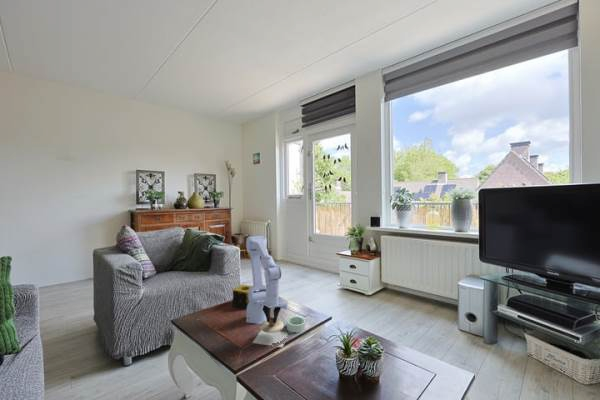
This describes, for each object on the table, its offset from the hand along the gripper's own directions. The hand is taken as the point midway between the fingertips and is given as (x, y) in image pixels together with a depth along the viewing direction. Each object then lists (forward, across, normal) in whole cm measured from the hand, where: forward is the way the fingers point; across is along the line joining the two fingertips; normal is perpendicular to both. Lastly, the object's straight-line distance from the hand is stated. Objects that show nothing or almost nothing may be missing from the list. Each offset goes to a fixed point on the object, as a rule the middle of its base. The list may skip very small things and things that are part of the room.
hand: (271, 321), depth 123 cm
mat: (+8, 0, 0) cm, 8 cm away
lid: (+2, 0, 0) cm, 2 cm away
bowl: (+8, +9, +11) cm, 16 cm away
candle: (+8, -27, +29) cm, 40 cm away
